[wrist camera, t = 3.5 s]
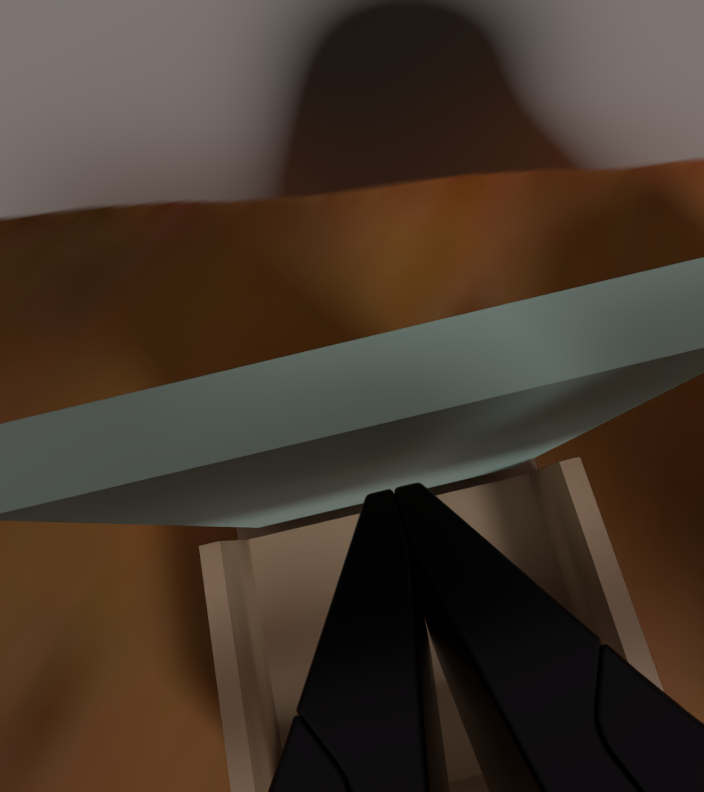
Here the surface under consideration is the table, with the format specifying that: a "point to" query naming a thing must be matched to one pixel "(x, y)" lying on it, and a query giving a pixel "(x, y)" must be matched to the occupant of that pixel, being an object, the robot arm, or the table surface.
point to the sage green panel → (361, 412)
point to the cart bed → (315, 585)
